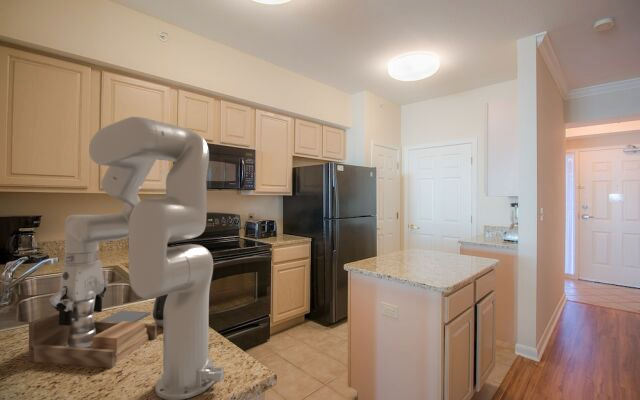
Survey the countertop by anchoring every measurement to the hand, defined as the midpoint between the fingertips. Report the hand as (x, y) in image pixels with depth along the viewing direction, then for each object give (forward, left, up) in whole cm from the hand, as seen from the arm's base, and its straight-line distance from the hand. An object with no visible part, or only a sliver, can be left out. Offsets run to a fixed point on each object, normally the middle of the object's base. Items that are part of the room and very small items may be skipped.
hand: (81, 317), depth 87 cm
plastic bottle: (0, 0, -9) cm, 9 cm away
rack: (-5, 0, -8) cm, 10 cm away
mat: (+4, -20, -8) cm, 22 cm away
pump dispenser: (-15, -18, -9) cm, 25 cm away
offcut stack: (-12, 0, -8) cm, 15 cm away
